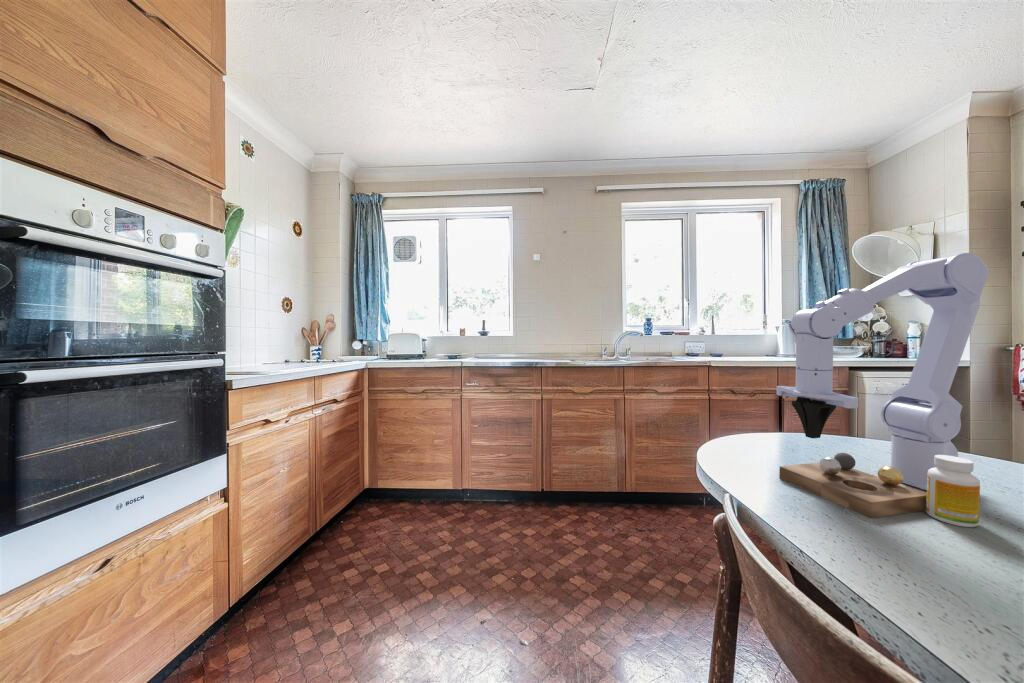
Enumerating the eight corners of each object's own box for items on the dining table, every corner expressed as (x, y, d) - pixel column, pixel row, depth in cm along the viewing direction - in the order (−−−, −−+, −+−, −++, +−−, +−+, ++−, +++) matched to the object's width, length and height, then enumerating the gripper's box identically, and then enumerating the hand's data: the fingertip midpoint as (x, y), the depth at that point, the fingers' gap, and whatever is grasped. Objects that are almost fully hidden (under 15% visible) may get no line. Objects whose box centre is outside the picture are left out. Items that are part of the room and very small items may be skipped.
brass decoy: (886, 480, 68) (886, 463, 68) (908, 487, 65) (908, 469, 64) (872, 481, 67) (873, 464, 67) (894, 489, 64) (894, 471, 64)
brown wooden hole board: (830, 473, 78) (831, 461, 77) (931, 509, 62) (931, 494, 62) (779, 478, 75) (779, 466, 75) (870, 517, 59) (871, 502, 59)
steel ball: (825, 457, 73) (841, 455, 70) (832, 474, 72) (848, 473, 69) (812, 458, 72) (827, 456, 69) (818, 476, 71) (834, 474, 68)
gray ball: (841, 465, 75) (842, 450, 75) (859, 471, 72) (860, 455, 72) (829, 466, 74) (829, 451, 74) (846, 472, 71) (847, 456, 71)
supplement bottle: (990, 530, 56) (993, 466, 55) (947, 526, 57) (949, 463, 56) (955, 512, 61) (957, 454, 61) (916, 509, 62) (918, 452, 62)
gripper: (764, 366, 80) (764, 429, 80) (836, 374, 65) (835, 450, 66) (791, 365, 81) (790, 426, 81) (867, 372, 67) (866, 447, 67)
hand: (812, 437), depth 74 cm, fingers closed
